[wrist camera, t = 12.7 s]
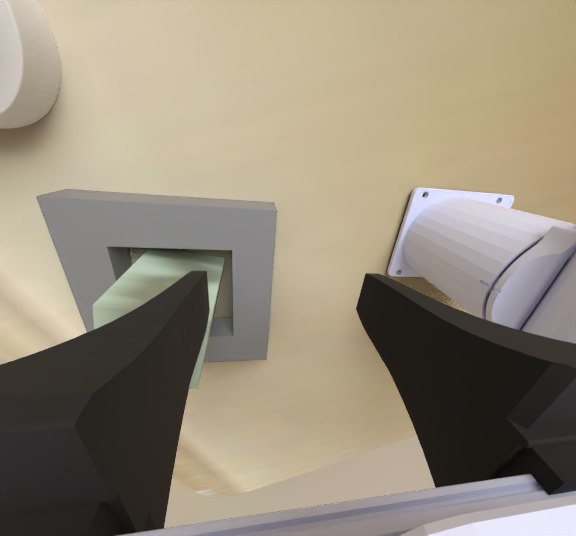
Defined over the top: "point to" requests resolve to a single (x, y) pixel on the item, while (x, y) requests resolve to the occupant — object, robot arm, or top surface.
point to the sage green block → (159, 288)
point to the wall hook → (26, 64)
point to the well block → (169, 234)
